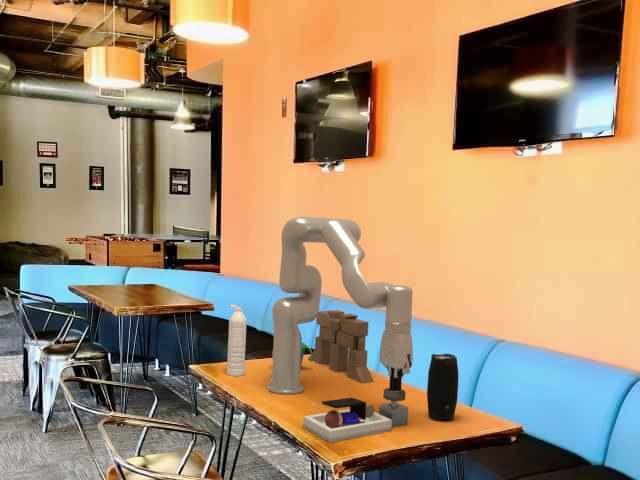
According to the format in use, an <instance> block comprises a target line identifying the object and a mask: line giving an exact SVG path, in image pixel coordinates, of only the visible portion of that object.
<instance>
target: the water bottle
mask: <svg viewBox="0 0 640 480" xmlns="http://www.w3.org/2000/svg"><path fill="white" fill-rule="evenodd" d="M229 309H234V312H233V313H232V314H231V316H230V317H229V320H228V338H227V339H228V340H227V358H226V359H227V361H226V362H227V363H226V374H227V375H228V376H232V377H241V376H244V375H245V369H246V368H245V365H246V363H245V361H246V343H247V342H246V340H247V318H246V315H245V314H244V313H243V309H242V307H241V306H238V305H236V304H230V305H229Z"/></svg>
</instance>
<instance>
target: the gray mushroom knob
mask: <svg viewBox="0 0 640 480" xmlns="http://www.w3.org/2000/svg"><path fill="white" fill-rule="evenodd" d="M406 393H407V392H406V391H405V389H402V388H401V390H400V391H391V390H389V387H388V388H387V387H386V388H384V389H383V393H382V395H383V396H382V397H383V399H384V400H387V401H390V402H391V407H393V408H394V407H397V403H398V402H403V401H405V400H406Z"/></svg>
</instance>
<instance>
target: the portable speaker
mask: <svg viewBox="0 0 640 480" xmlns="http://www.w3.org/2000/svg"><path fill="white" fill-rule="evenodd" d="M430 359H431V360H430V363H429V368H428V371H427V372H428V373H427V375H428V376H427V384H426V385H427V387H426V388H427V389H426V398H427V401H426V402H427V414H428V417H429V419H430V420H434V421H437V422H439V421H441V420H448V421H449V422H451V421H454V417H455V413H456V409H457V403H458V395H459V367H458V358H457V357H456V355H454V354H451V353H442V354H441V353H440V354H436V353H432V354H431V358H430Z"/></svg>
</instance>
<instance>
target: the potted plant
mask: <svg viewBox="0 0 640 480" xmlns="http://www.w3.org/2000/svg"><path fill="white" fill-rule="evenodd" d="M306 349H308V350H309V353H310V355H311V358H310V360H309V362H310V363H311V362H312V361H311V360H312V353H313V351H312V349H311V347H310V346H308V345H307V344H306V343H304V342H301V364H300V370H302V365H303V361H304V355H305V353H306V352H305V351H306ZM271 351H272V352H271V359H272V360H273V350H271Z"/></svg>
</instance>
